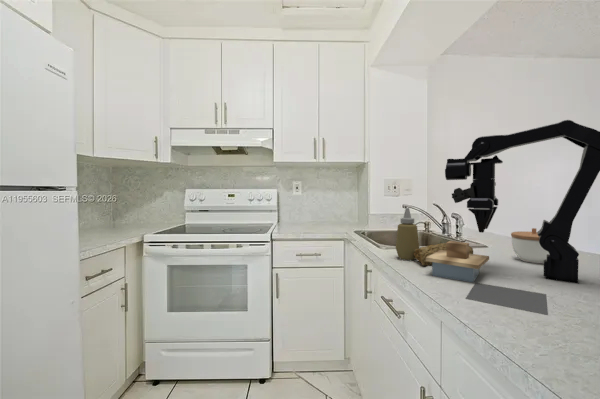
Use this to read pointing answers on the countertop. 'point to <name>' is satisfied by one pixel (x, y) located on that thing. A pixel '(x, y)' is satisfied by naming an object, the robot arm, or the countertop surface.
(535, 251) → the lidded bowl
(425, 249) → the sponge
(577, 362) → the countertop surface
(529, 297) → the rubber mat
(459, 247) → the oak lid
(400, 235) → the squeeze bottle
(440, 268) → the ceramic dish
